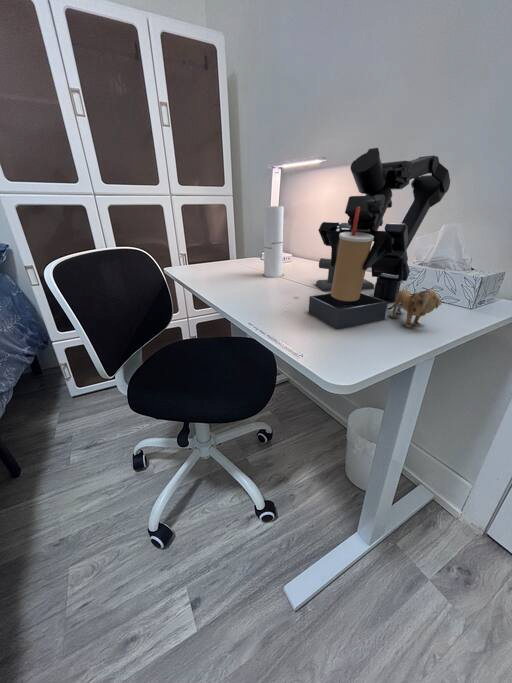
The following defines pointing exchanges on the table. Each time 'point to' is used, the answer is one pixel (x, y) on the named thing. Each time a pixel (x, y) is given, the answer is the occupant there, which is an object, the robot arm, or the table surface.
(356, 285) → the takeaway cup
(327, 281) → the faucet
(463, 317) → the table surface
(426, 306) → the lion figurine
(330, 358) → the table surface
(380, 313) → the bin
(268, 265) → the cylindrical container
